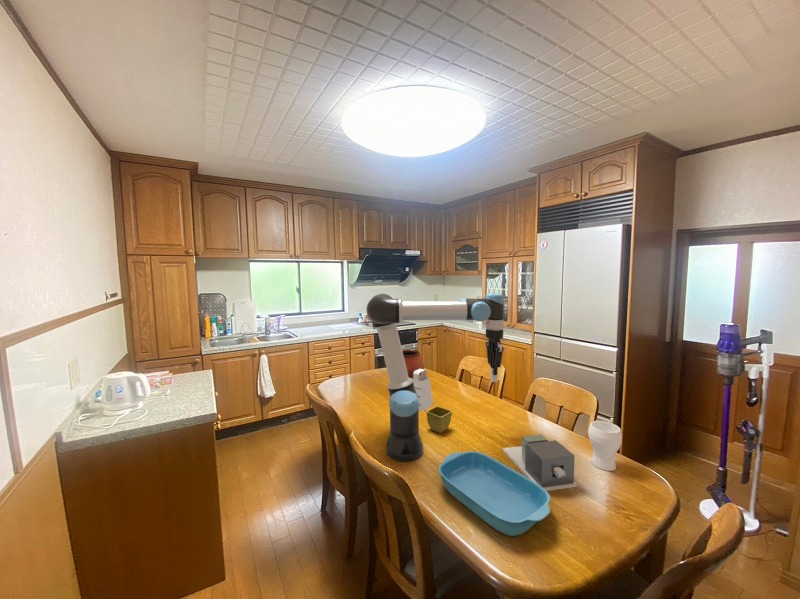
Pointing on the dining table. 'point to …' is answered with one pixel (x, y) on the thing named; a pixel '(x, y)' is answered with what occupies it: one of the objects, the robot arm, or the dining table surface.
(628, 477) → the dining table surface
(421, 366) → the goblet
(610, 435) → the cup
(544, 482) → the bearing block
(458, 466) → the casserole dish
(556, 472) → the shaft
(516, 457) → the base board
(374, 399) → the dining table surface
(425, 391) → the grater
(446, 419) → the flower pot
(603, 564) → the dining table surface
